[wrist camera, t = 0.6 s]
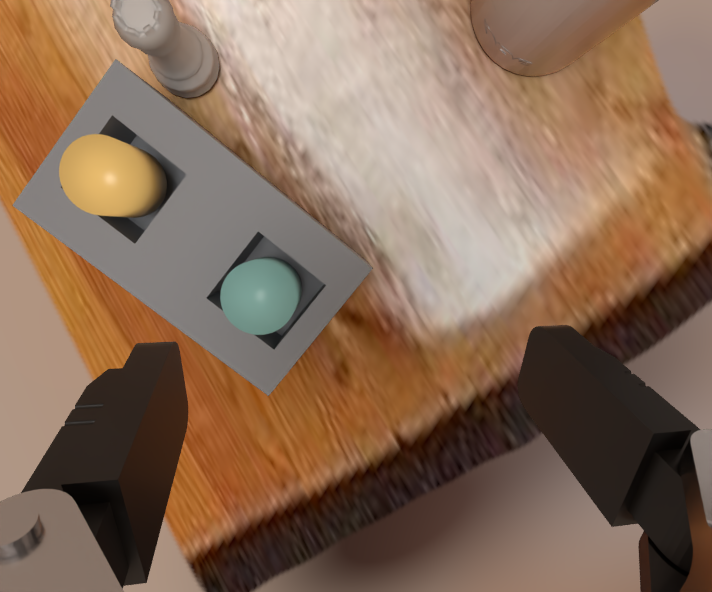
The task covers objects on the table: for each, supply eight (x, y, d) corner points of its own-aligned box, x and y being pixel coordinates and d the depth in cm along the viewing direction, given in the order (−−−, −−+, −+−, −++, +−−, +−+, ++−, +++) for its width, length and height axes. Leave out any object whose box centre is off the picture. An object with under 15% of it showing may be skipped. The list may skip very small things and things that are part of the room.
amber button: (123, 132, 25) (89, 117, 22) (180, 177, 26) (155, 169, 22) (83, 187, 26) (43, 181, 22) (140, 231, 26) (110, 231, 23)
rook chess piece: (145, 80, 31) (77, 28, 23) (171, 18, 30) (110, -57, 22) (205, 111, 31) (158, 70, 23) (232, 51, 30) (193, -12, 23)
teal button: (262, 243, 26) (250, 244, 23) (315, 284, 27) (311, 292, 24) (222, 294, 27) (205, 303, 23) (275, 334, 27) (265, 349, 24)
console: (166, 97, 31) (115, 59, 24) (366, 260, 33) (372, 268, 26) (84, 211, 32) (12, 205, 25) (283, 362, 34) (268, 395, 27)
